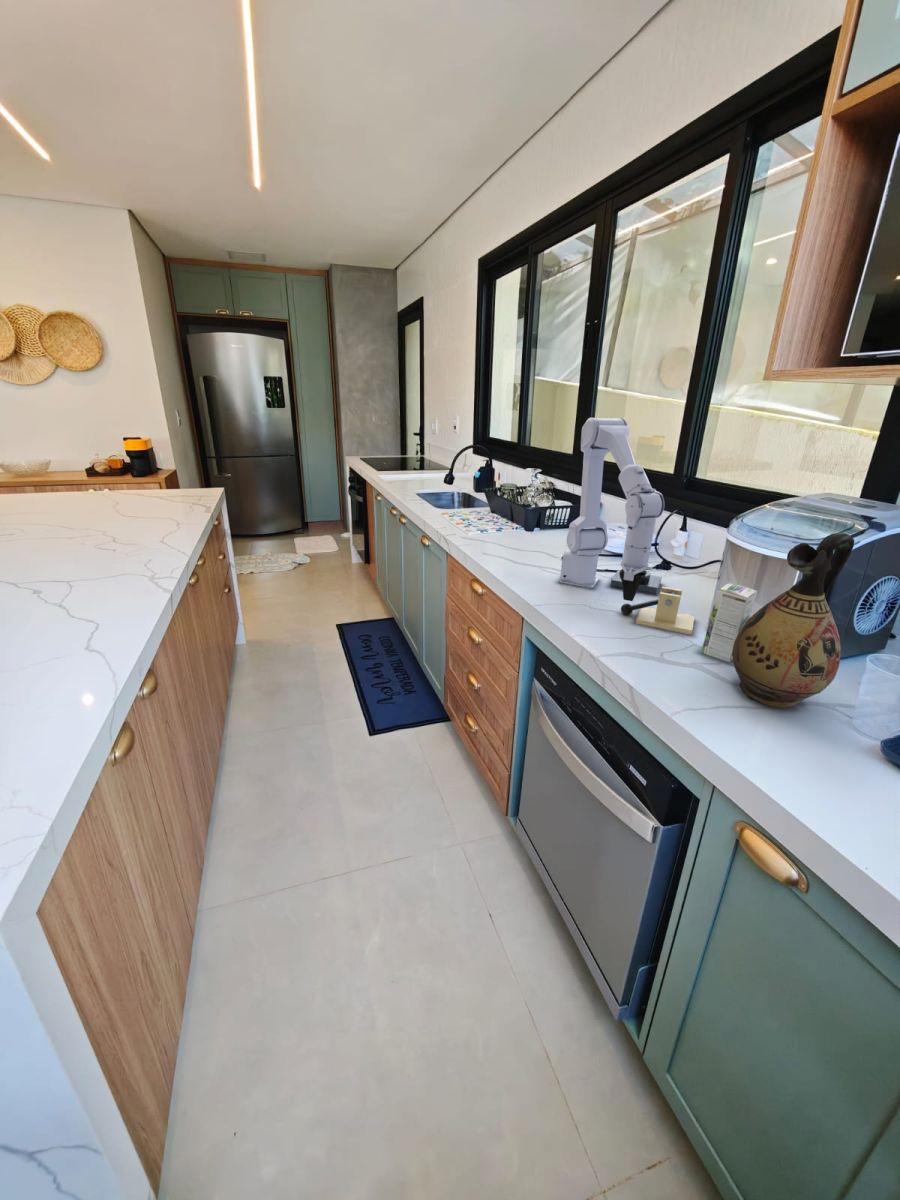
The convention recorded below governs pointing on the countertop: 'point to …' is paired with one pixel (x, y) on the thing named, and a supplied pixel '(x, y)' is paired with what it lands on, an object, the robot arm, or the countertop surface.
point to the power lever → (639, 605)
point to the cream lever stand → (667, 613)
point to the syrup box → (728, 620)
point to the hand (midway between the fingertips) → (628, 599)
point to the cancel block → (646, 586)
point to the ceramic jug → (794, 631)
